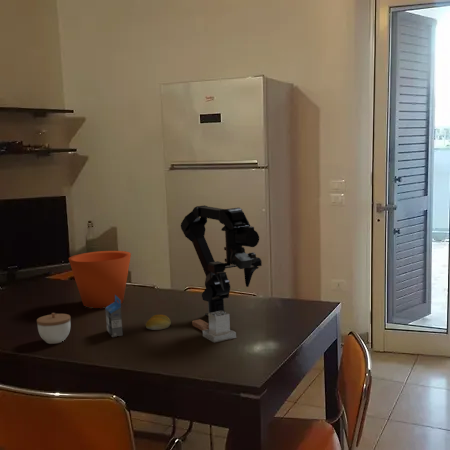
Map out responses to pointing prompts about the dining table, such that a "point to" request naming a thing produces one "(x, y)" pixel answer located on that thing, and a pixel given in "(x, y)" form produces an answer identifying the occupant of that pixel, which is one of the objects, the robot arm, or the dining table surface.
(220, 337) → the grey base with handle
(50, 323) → the lidded jar
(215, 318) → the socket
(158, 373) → the dining table surface
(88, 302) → the flowerpot
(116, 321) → the grey and blue box
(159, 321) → the bread roll
